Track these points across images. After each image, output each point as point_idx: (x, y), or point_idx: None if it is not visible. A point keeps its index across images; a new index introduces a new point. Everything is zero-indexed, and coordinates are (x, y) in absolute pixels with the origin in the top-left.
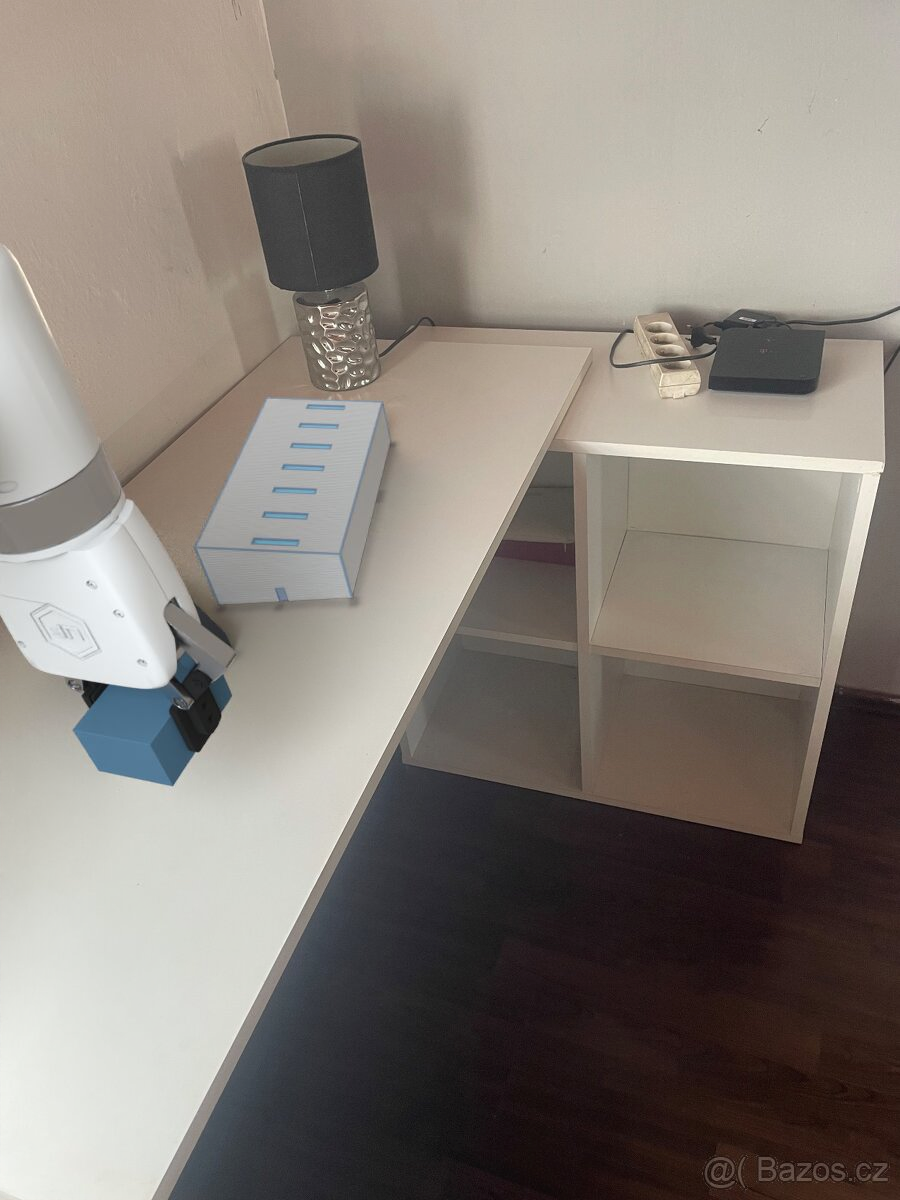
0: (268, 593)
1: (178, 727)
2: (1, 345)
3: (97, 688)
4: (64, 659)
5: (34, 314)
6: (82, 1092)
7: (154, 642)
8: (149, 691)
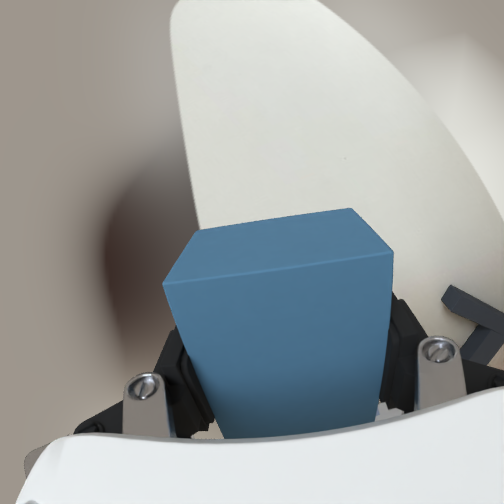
0: (384, 408)
1: None
2: None
3: (395, 357)
4: None
5: None
6: (258, 13)
7: None
8: (283, 383)
